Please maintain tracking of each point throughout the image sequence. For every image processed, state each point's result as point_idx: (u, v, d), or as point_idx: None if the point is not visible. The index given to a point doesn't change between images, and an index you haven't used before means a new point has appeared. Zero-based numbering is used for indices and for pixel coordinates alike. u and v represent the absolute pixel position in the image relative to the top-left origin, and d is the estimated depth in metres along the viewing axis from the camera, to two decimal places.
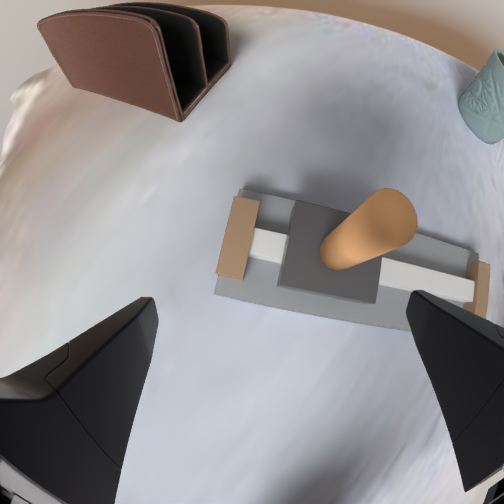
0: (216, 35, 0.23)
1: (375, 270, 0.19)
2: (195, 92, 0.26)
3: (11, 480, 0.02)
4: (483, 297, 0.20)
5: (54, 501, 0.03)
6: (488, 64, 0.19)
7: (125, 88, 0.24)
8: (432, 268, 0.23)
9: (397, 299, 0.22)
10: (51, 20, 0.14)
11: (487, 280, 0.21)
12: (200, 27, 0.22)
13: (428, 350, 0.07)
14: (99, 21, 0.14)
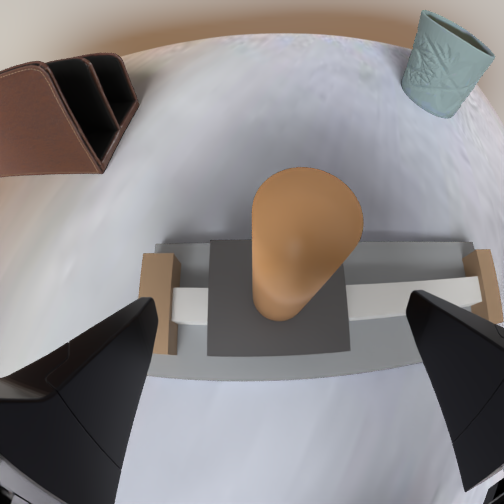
0: (115, 74, 0.21)
1: (340, 305, 0.14)
2: (109, 138, 0.23)
3: (11, 480, 0.02)
4: (493, 291, 0.15)
5: (54, 501, 0.03)
6: (420, 28, 0.20)
7: (39, 157, 0.20)
8: (421, 278, 0.18)
9: (385, 330, 0.17)
10: None
11: (492, 269, 0.16)
12: (97, 72, 0.21)
13: (428, 350, 0.07)
14: None
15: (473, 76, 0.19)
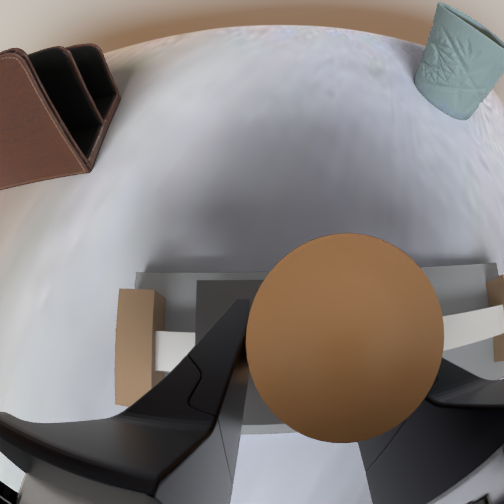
0: (93, 66, 0.18)
1: None
2: (93, 134, 0.20)
3: None
4: None
5: None
6: (436, 21, 0.16)
7: (18, 163, 0.17)
8: (444, 309, 0.15)
9: None
10: None
11: None
12: None
13: None
14: None
15: (494, 75, 0.16)
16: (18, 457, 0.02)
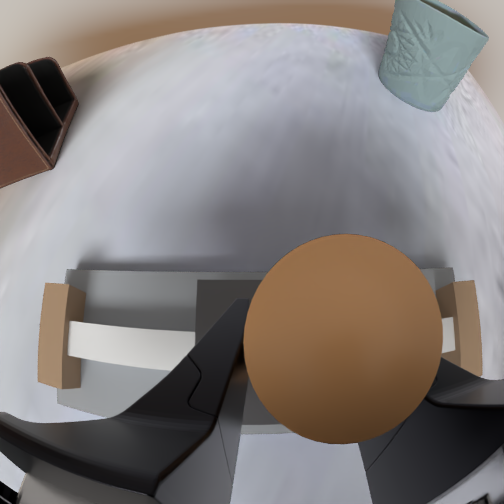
0: (51, 77, 0.19)
1: None
2: (54, 136, 0.21)
3: None
4: (472, 337, 0.12)
5: None
6: (396, 6, 0.16)
7: None
8: None
9: None
10: None
11: (474, 307, 0.13)
12: (35, 79, 0.18)
13: None
14: None
15: (462, 60, 0.15)
16: (18, 457, 0.02)
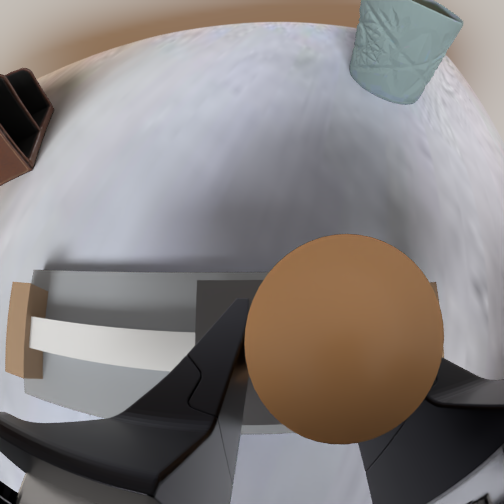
0: (28, 86, 0.19)
1: None
2: (32, 140, 0.21)
3: None
4: None
5: None
6: None
7: None
8: None
9: None
10: None
11: None
12: None
13: None
14: None
15: (434, 48, 0.16)
16: (18, 457, 0.02)
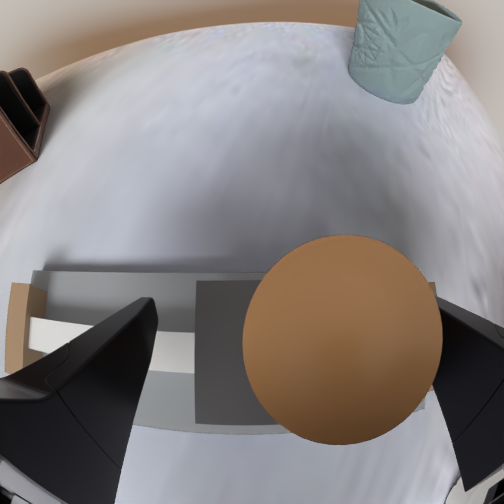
0: (24, 86, 0.19)
1: None
2: (34, 134, 0.21)
3: (11, 480, 0.02)
4: None
5: (54, 501, 0.03)
6: None
7: None
8: None
9: None
10: None
11: None
12: None
13: None
14: None
15: (432, 47, 0.16)
16: None
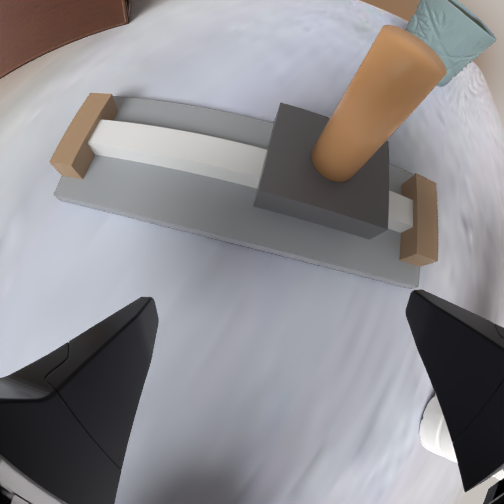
0: None
1: (383, 188, 0.14)
2: None
3: (11, 480, 0.02)
4: (429, 222, 0.16)
5: (54, 501, 0.03)
6: None
7: (67, 23, 0.17)
8: None
9: None
10: None
11: (433, 201, 0.17)
12: None
13: (428, 350, 0.07)
14: None
15: (467, 48, 0.17)
16: None
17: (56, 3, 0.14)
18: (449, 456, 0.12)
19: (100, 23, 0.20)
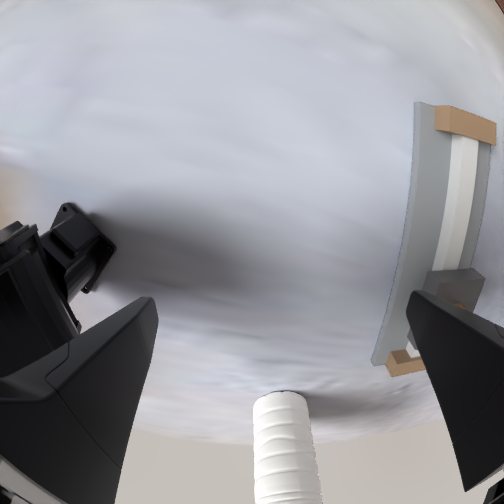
0: None
1: None
2: None
3: (11, 480, 0.02)
4: (413, 367, 0.25)
5: (54, 501, 0.03)
6: None
7: None
8: None
9: (421, 281, 0.23)
10: None
11: (424, 368, 0.25)
12: None
13: (428, 350, 0.07)
14: None
15: None
16: None
17: None
18: (262, 422, 0.26)
19: None
